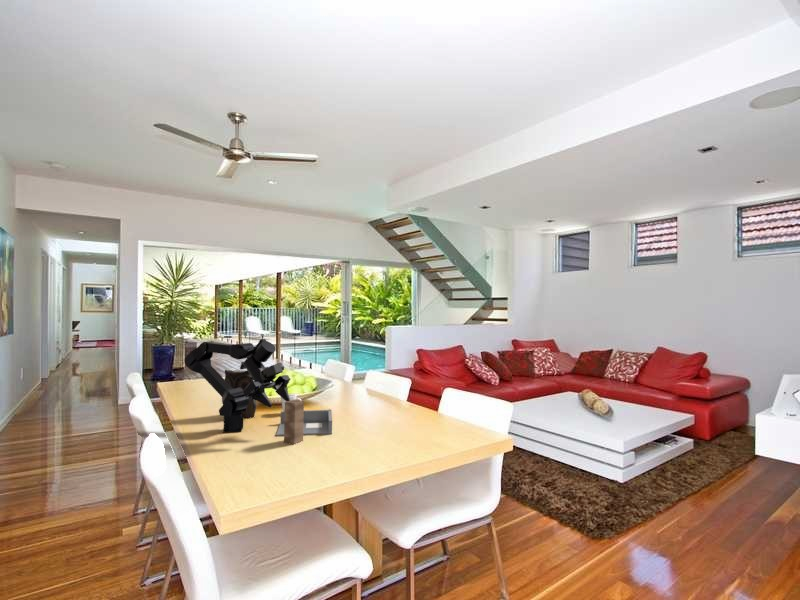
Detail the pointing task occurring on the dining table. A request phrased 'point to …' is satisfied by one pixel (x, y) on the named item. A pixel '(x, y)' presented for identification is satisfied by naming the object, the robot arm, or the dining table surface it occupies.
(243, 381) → the owl
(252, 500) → the dining table surface
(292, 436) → the walnut column
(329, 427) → the tray
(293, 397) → the cup
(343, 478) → the dining table surface
